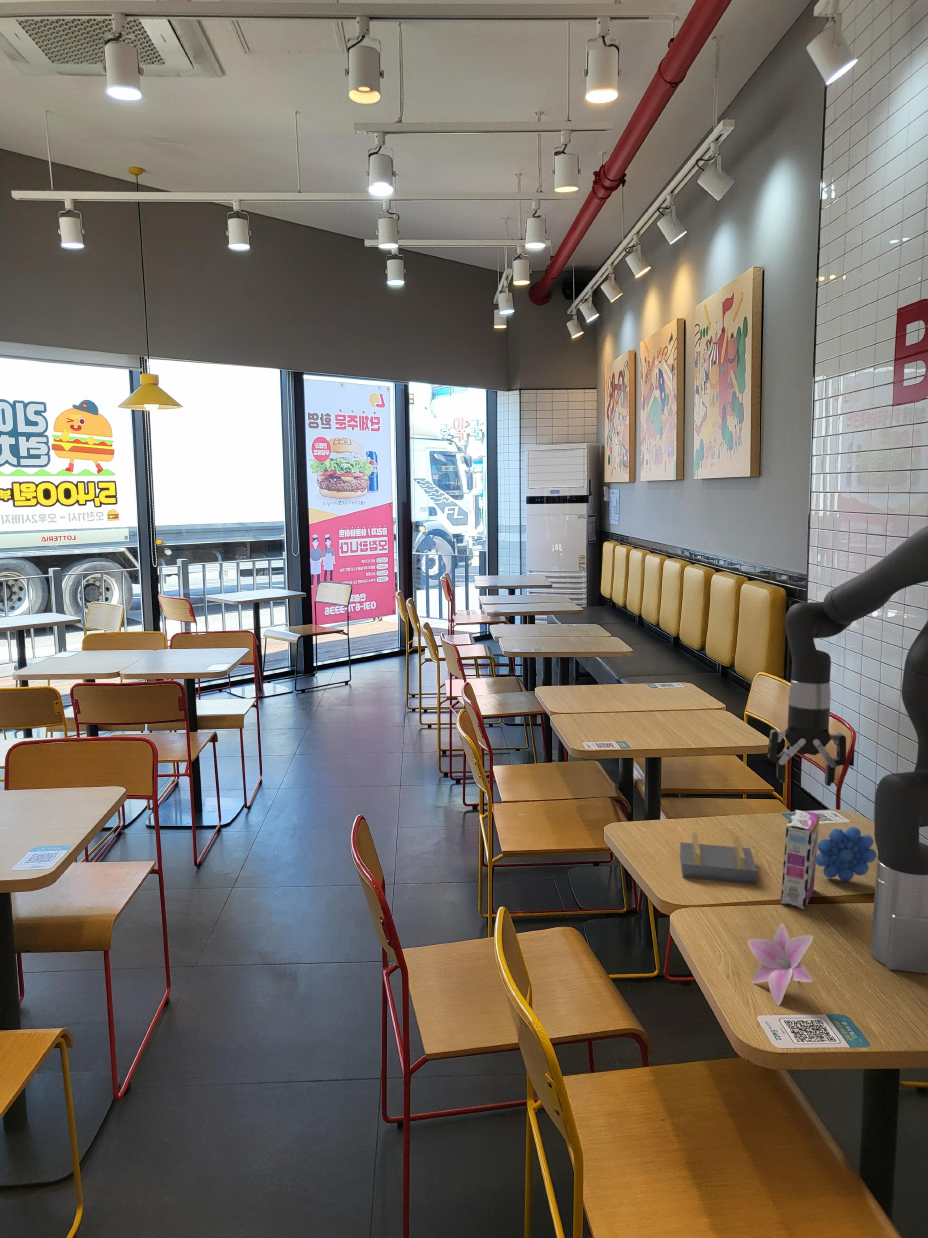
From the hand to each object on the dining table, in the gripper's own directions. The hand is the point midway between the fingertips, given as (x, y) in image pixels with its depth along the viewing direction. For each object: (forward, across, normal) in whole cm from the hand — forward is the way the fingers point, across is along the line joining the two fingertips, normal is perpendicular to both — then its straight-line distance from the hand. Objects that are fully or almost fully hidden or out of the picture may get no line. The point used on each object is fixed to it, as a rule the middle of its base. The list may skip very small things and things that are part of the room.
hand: (804, 783), depth 164 cm
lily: (+24, -9, -35) cm, 44 cm away
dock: (+24, -15, +10) cm, 30 cm away
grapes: (+24, +11, +11) cm, 28 cm away
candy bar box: (+24, 0, 0) cm, 24 cm away
